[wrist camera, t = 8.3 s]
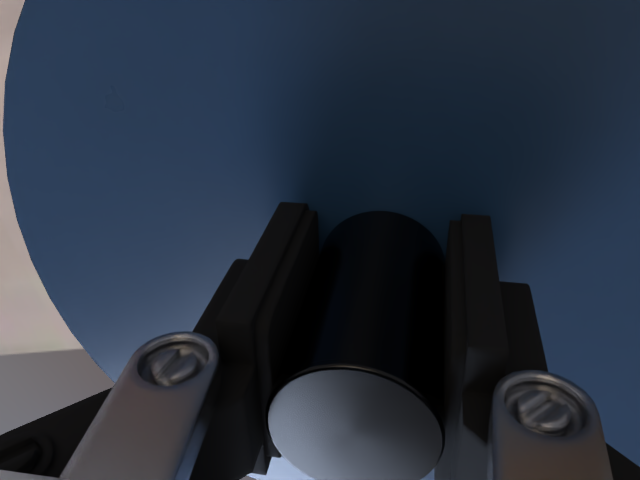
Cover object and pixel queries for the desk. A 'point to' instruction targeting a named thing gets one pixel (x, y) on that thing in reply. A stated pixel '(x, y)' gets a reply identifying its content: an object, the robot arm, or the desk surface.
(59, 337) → the desk surface
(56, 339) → the desk surface
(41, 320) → the desk surface
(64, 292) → the pot lid
